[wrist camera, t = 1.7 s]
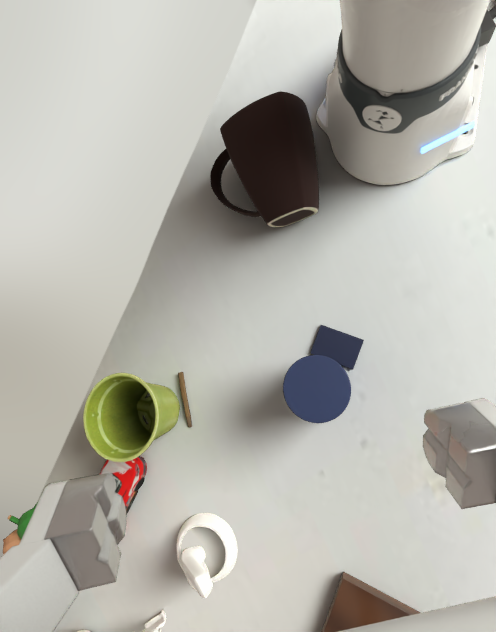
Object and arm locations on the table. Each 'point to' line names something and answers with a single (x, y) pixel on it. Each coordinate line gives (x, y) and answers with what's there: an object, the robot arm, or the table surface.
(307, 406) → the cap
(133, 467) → the race car
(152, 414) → the plant pot
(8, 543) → the figurine
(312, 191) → the mug
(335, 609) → the hat stand
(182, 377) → the stick
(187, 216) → the table surface
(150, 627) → the plastic part
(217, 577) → the hook
